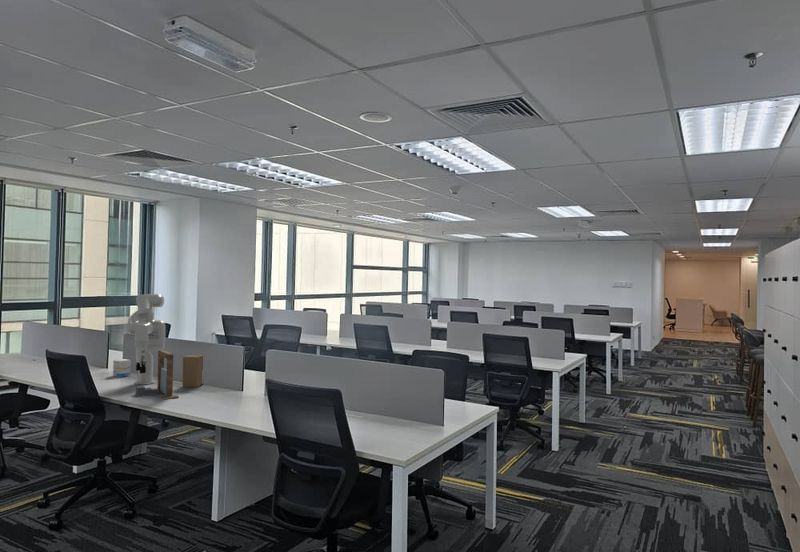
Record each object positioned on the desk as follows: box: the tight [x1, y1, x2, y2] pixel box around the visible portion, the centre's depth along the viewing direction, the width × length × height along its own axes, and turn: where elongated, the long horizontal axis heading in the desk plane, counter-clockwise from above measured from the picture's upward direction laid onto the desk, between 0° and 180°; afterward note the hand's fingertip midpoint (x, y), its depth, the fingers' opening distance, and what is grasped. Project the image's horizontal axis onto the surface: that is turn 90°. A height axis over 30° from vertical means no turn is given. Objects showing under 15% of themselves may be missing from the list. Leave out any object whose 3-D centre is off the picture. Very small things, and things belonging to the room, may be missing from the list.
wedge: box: [135, 385, 160, 397], centre depth 332 cm, size 6×12×5 cm, turn 128°
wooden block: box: [182, 354, 204, 388], centre depth 360 cm, size 10×10×20 cm
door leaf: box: [159, 367, 167, 395], centre depth 334 cm, size 18×2×15 cm, turn 38°
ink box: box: [112, 358, 132, 378], centre depth 389 cm, size 9×8×12 cm
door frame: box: [151, 349, 180, 400], centre depth 334 cm, size 31×8×26 cm, turn 38°
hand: (140, 371), depth 330 cm, fingers open, 9 cm apart
